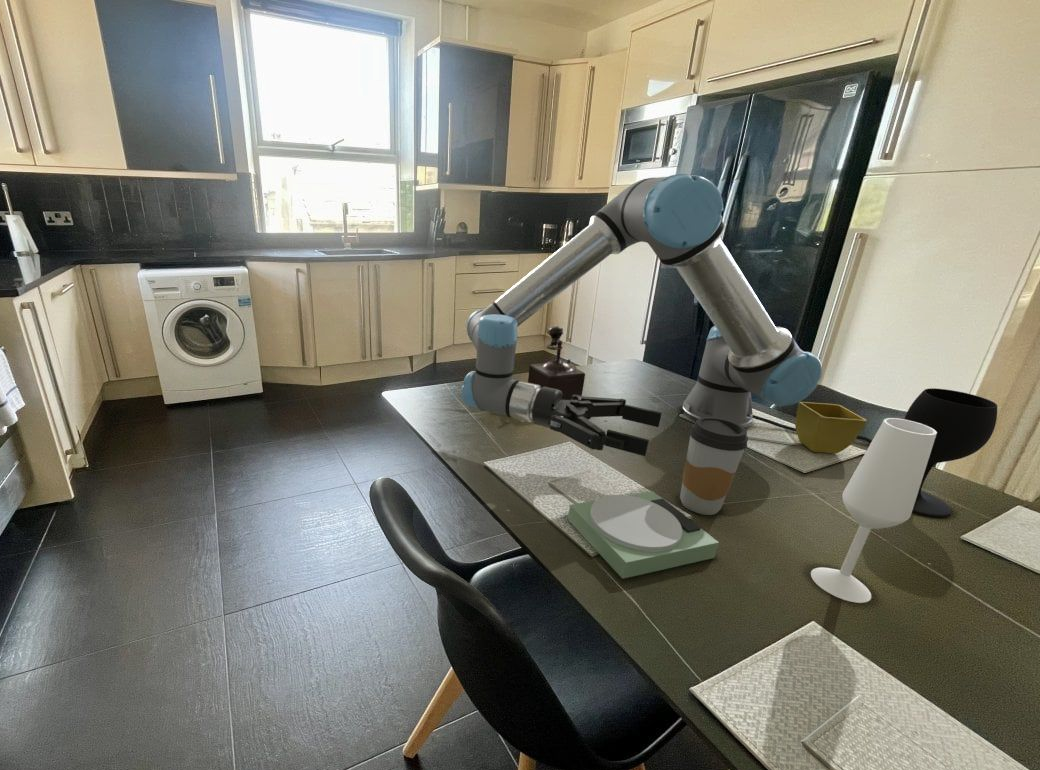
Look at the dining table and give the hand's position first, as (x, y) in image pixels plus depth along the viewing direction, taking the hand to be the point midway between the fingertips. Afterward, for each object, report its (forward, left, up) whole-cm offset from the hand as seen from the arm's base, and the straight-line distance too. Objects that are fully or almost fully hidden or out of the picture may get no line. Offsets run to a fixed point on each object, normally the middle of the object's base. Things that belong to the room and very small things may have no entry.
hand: (654, 433), depth 84 cm
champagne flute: (-19, +22, -11) cm, 32 cm away
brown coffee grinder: (+10, -43, -11) cm, 45 cm away
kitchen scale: (+6, +14, -11) cm, 19 cm away
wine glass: (-48, -1, -11) cm, 50 cm away
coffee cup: (-8, +4, -11) cm, 15 cm away
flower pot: (-45, -21, -11) cm, 51 cm away
